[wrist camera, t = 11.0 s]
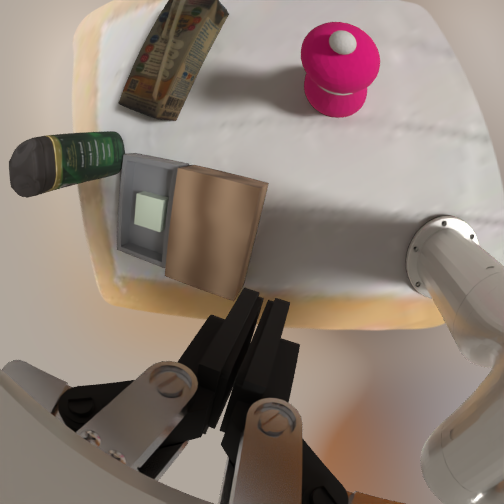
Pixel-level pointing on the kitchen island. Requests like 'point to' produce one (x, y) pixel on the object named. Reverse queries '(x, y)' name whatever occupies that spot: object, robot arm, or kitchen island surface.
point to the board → (213, 229)
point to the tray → (132, 182)
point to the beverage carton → (172, 57)
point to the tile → (151, 211)
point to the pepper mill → (338, 68)
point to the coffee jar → (64, 161)
